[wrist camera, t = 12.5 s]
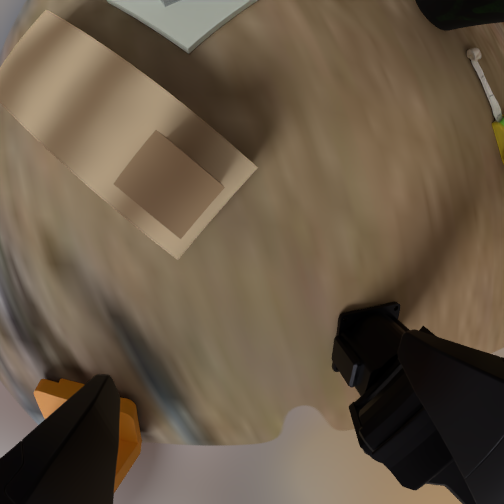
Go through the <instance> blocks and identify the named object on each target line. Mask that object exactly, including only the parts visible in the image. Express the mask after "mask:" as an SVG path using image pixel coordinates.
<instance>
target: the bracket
mask: <svg viewBox="0 0 504 504" xmlns="http://www.w3.org/2000/svg"><path fill="white" fill-rule="evenodd" d="M84 385H85V384H82V383H78V382H74V381H70V380H66V379H62V378H61V379H60V381H59V383H57V382H53V381H50V380H47V379H41V380H40V382H39V384H38V386H37V387H36V389H35V391H34V396H35V398H36V401H37V403H38V405H39V407H40V410H41V412H42V414H43V416H44V418H45V419H46V418H47V417H49V416H50V415H51V414H52V413H53V412H54V411H55V410H56V409H58V408H59V407H60V406H61V405H62V404H63V403H64V402H66V401H67V400H68V399H69V398H70V397H71V396H72V395H74V394H75V393H76V392H77V391H78V390H79V389H80V388H82V387H83V386H84ZM141 443H142V439H141V433H140V428H139V422H138V415H137V409H136V405H135V403H134V402H133V401H131V400H129V399H127V398H121V397H120V421H119V447H118V456H117V464H116V474H115V484H114V492H115V491H116V490H117V488H118V487H119V485H120V484H121V482H122V480H123V479H124V477H125V476H126V474H127V473H128V471H129V470H130V468H131V467H132V465H133V464H134V462H135V461H136V459H137V457H138V456H139V454H140V451H141Z"/></svg>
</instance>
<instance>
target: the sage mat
mask: <svg viewBox="0 0 504 504" xmlns="http://www.w3.org/2000/svg"><path fill="white" fill-rule="evenodd" d="M256 1H258V0H180V1H178V2H176V3H173V4H171V5H169V6H166V7H165V6H164V5H163V3H162V2H161V0H107V2H108V3H109V4H111V5H113V6H115V7H117V8H118V9H120V10H122V11H124V12H125V13H127V14H129V15H131V16H132V17H134V18H136V19H137V20H139V21H140V22H142V23H144V24H145V25H147V26H148V27H150V28H152V29H153V30H155V31H156V32H158V33H159V34H161V35H162V36H164V37H165V38H167V39H168V40H170V41H171V42H173V43H174V44H175V45H177V46H178V47H180V48H181V49H183V50H184V51H185V52H187V53H188V54H189V53H190V52H191V51H193V50H194V49H195V48H196V47H197V46H198V45H199V44H201V43H202V42H203V41H204V40H205V39H207V38H208V37H209V36H210V35H211V34H213V33H214V32H215V31H216V30H218V29H219V28H220V27H221V26H223V25H224V24H225V23H227V22H228V21H229V20H231V19H232V18H233V17H235V16H236V15H237V14H239V13H240V12H242V11H243V10H244V9H246V8H247V7H249V6H250V5H252V4H253V3H255V2H256Z"/></svg>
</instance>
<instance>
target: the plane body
mask: <svg viewBox="0 0 504 504" xmlns="http://www.w3.org/2000/svg"><path fill="white" fill-rule="evenodd" d="M0 103H1V104H2V105H3V106H4V107H5V108H6V109H7V110H8V111H9V112H10V113H11V114H12V115H13V116H14V117H15V118H16V120H17V121H18V122H19V123H20V124H22V125H23V126H24V127H25V128H26V129H27V130H28V131H29V132H30V133H31V134H32V135H33V136H34V137H35V138H36V139H37V140H38V141H39V142H40V143H41V144H42V145H43V146H44V147H45V148H46V149H47V150H48V151H50V152H51V153H52V154H53V155H54V156H55V157H56V158H57V159H58V160H59V161H60V162H61V163H63V164H64V165H65V166H66V167H67V168H68V169H69V170H70V171H71V172H72V173H74V174H75V175H76V176H77V177H78V178H79V179H80V180H81V181H83V182H84V183H85V184H86V185H87V186H88V187H89V188H91V189H92V190H93V191H94V192H95V193H96V194H97V195H99V196H100V197H101V198H102V199H103V200H104V201H106V202H107V203H108V204H109V205H110V206H112V207H113V208H114V209H115V210H116V211H117V212H119V213H120V214H121V215H122V216H123V217H125V218H126V219H127V220H128V221H129V222H131V223H132V224H133V225H134V226H136V227H137V228H138V229H139V230H141V231H142V232H143V233H144V234H145V235H147V236H148V237H149V238H150V239H152V240H153V241H154V242H155V243H157V244H158V245H159V246H160V247H162V248H163V249H164V250H166V251H167V252H168V253H169V254H171V255H172V256H173V257H175V258H176V259H177V260H178V259H179V258H180V257H181V255H182V254H183V253H184V252H185V251H186V249H187V248H188V247H189V246H190V245H191V243H192V242H193V241H194V240H195V239H196V237H197V236H198V235H199V234H200V233H201V232H202V230H203V229H204V228H205V227H206V226H207V225H208V223H209V222H210V221H211V220H212V219H213V218H214V216H215V215H216V214H217V213H218V212H219V211H220V209H221V208H222V207H223V206H224V205H225V204H226V203H227V201H228V200H229V199H230V198H231V197H232V196H233V195H234V194H235V192H236V191H237V190H238V189H239V188H240V187H241V186H242V185H243V184H244V182H245V181H246V180H247V179H248V178H249V177H250V176H251V175H252V174H253V173H254V171H255V170H256V169H257V167H256V166H255V165H254V164H253V163H252V162H251V161H250V160H249V159H248V158H246V157H245V156H244V155H243V154H242V153H241V152H240V151H239V150H237V149H236V148H235V147H234V146H233V145H232V144H231V143H229V142H228V141H227V140H226V139H225V138H224V137H222V136H221V135H220V134H219V133H218V132H217V131H215V130H214V129H213V128H212V127H211V126H210V125H208V124H207V123H206V122H205V121H204V120H202V119H201V118H200V117H199V116H197V115H196V114H195V113H194V112H193V111H191V110H190V109H189V108H188V107H186V106H185V105H184V104H183V103H181V102H180V101H179V100H178V99H176V98H175V97H174V96H173V95H171V94H170V93H169V92H167V91H166V90H165V89H164V88H162V87H161V86H160V85H158V84H157V83H156V82H154V81H153V80H152V79H150V78H149V77H148V76H146V75H145V74H144V73H142V72H141V71H140V70H138V69H137V68H136V67H134V66H133V65H131V64H130V63H129V62H127V61H126V60H124V59H123V58H122V57H120V56H119V55H117V54H116V53H114V52H113V51H112V50H110V49H109V48H107V47H106V46H104V45H103V44H101V43H100V42H98V41H97V40H95V39H94V38H92V37H91V36H89V35H88V34H86V33H85V32H83V31H81V30H80V29H78V28H77V27H75V26H73V25H72V24H70V23H69V22H67V21H65V20H64V19H62V18H60V17H59V16H57V15H55V14H53V13H52V12H50V11H48V10H45V11H44V12H43V13H42V15H41V16H40V17H39V18H38V19H37V20H36V21H35V22H34V24H33V25H32V26H31V27H30V28H29V29H28V31H27V32H26V33H25V34H24V36H23V37H22V38H21V39H20V41H19V42H18V43H17V45H16V46H15V47H14V49H13V50H12V51H11V53H10V54H9V56H8V57H7V58H6V60H5V61H4V63H3V64H2V66H1V67H0Z"/></svg>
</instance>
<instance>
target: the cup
mask: <svg viewBox="0 0 504 504" xmlns="http://www.w3.org/2000/svg"><path fill="white" fill-rule="evenodd" d="M416 3H417V5H418V7H419V8H420V10H421V11H422V13H423V14H424V15H425V16H426V18H427V19H428V20H429V21H430V22H431V23H432V24H434V25H435V26H436V27H438V28H439V29H442V30H452V29H457V28H463V27H468V26H475V25H482V24H489V23H499V22H504V0H416Z"/></svg>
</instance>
